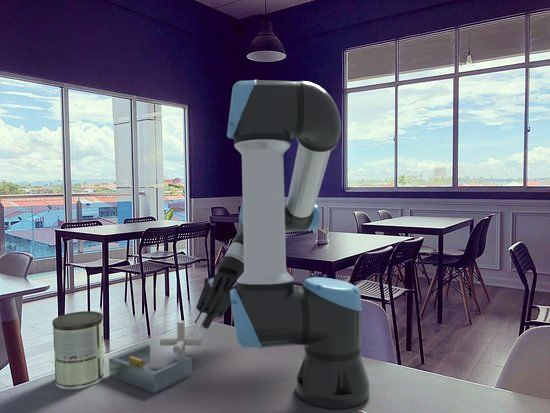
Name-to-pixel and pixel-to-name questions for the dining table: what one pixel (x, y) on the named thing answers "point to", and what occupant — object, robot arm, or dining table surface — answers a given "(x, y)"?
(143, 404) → the dining table surface
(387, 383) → the dining table surface
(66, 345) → the coffee can
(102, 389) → the dining table surface
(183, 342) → the pipe connector
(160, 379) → the jig
